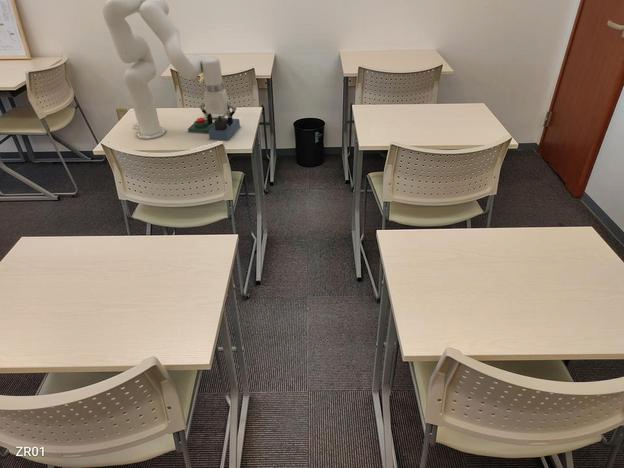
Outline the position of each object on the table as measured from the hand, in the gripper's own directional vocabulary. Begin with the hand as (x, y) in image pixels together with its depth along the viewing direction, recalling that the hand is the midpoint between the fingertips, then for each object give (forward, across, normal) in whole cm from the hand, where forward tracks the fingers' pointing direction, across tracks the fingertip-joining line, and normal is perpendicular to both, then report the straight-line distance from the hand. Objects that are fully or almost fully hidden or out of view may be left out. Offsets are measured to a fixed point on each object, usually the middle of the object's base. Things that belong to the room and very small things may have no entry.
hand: (220, 124), depth 218 cm
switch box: (+6, -13, +6) cm, 15 cm away
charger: (+6, 0, 0) cm, 6 cm away
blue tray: (+6, 0, +3) cm, 7 cm away
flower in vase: (+6, -13, +21) cm, 26 cm away
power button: (+3, -13, +6) cm, 15 cm away
